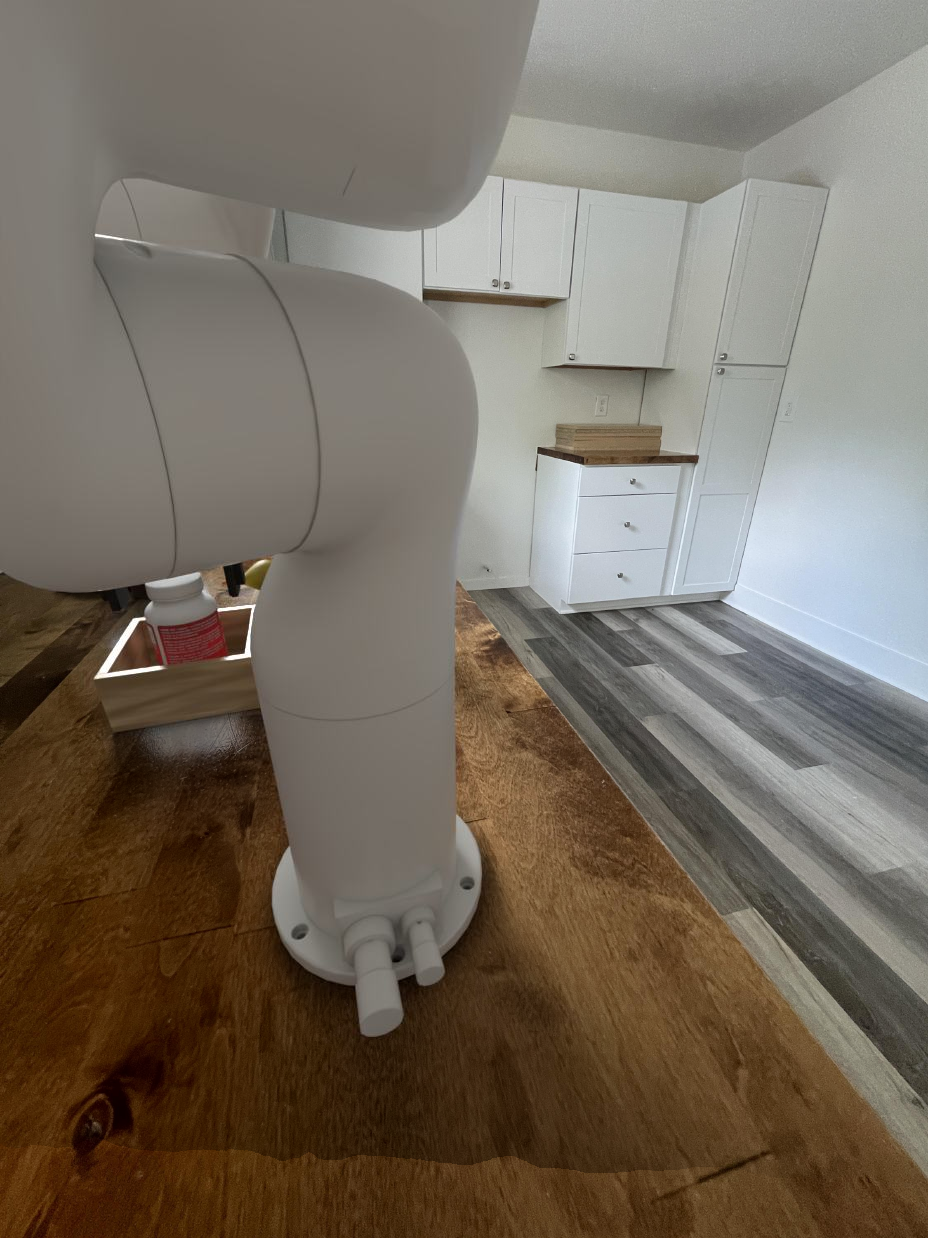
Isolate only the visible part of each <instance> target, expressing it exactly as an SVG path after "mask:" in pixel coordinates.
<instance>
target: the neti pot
mask: <svg viewBox="0 0 928 1238" xmlns="http://www.w3.org/2000/svg"><path fill="white" fill-rule="evenodd" d="M271 562H272V559H271V560H270V559H260V560H258V561H256V562H255V563H253V564H252V565H251V566H250V568H249V569H247V571H246V572H244V573H245V578H246V584H245V585H244V586H246V587H249V588H251V589H254V590H257V591H260V589H261V586H262V584H263V581H264V579H265V576H266V573H267V571H268V569H269V567H270V565H271ZM221 584H222V585H227V583H226V579H224V580H222V582H221Z"/></svg>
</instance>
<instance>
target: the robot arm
mask: <svg viewBox="0 0 928 1238" xmlns="http://www.w3.org/2000/svg"><path fill="white" fill-rule="evenodd" d="M540 1H541V0H0V572H1V573H4V574H5V575H7V576H8V577H10V578H12V579H14V580H16V581H19V582H21V583H24V584H26V585H29V586H32V587H34V588H38V589H42V590H46V591H51V592H62V593H93V592H99V593H100V596H101V599H102V600H103V601H104V602H106V601H108V603H109V607H110V609H111V611H112V612H113V613H116V612H121V611H122V610H124V608H125V607H126V606H127V604H128V603H130V601H131V595H130V591H129V588H128V587H130V586H134V585H140V584H144V583H149V582H154V581H159V580H163V579H170V578H175V577H179V576H183V575H188V574H192V573H196V572H199V573H200V572H205V571H209V570H212V569H218V568H222V569H223V573H224V578H225V579H226V583H227V584H226V587H227V591H228V595H229V597H231V598H238V597H239V596H240V591H241V586H246V585H245V584H246V578H245V573H246V572H245V569H244V564H243V563H244V562H249V561H253V560H257V559H262V558H266V557H270V556H273V557H272V559H271V561H272V562H271V565H270V567H269V569H268V571H267V573H266V576H265V579H264V581H263V584H262V586H261V589H260V590H258V595H257V599H256V602H255V604H254V605H255V608H254V611H253V617H252V624H251V630H250V655H251V663H252V669H253V674H254V679H255V684H256V687H257V693H258V697H259V702H260V707H261V708H260V711H261V716H262V720H263V725H264V726H263V727H264V730H265V735H266V739H267V744H268V749H269V754H270V759H271V763H272V769H273V774H274V778H275V783H276V787H277V792H278V798H279V802H280V806H281V811H282V816H283V821H284V825H285V830H286V835H287V839H288V846H287V848H286V849H285V851H284V853H283V855H282V857H281V859H280V861H279V864H278V866H277V868H276V871H275V874H274V879H273V883H272V887H271V908H272V913H273V918H274V923H275V926H276V929H277V932H278V936H279V938H280V940H281V942H282V944H283V946H284V948H286V950H287V951H288V953H289V954H290V956H291V957H292V959H294V960H295V961H296V962H297V963H298V964H299V965H301V966H302V967H303V968H304V969H305V970H306V971H308V972H309V973H312V974H313V975H315V976H318V977H319V978H320V979H323V980H325V981H328V982H333V983H336V984H340V985H345V986H354V987H355V996H356V1005H357V1012H358V1022H359V1030H360V1034H361V1035H362V1036H365V1037H366V1038H376V1037H379V1036H383V1035H387V1034H388V1033H390V1032H392V1031H394V1030H395V1029H397V1028H398V1027H399V1026H400V1025H401V1023H402V1022H403V1019H404V1016H405V1015H404V1009H403V1004H402V1003H403V1002H402V998H401V993H400V992H401V991H400V988H399V981H401V980H403V979H405V978H408V977H410V976H413V975H415V980H416V982H417V984H418V985H419V986H422V987H428V986H433V985H434V984H436V983H438V982H440V981H441V979H443V978H444V975H445V974H446V970H445V966H444V961H443V958H442V957H444V955H445V954H446V953H447V952H449V951H450V950H451V949H452V948H453V947H454V946H455V945H456V944H457V942H458V941H459V939H460V938H461V937H462V936H463V935H464V933H465V932H466V930H467V929H468V927H469V926H470V923H471V921H472V919H473V917H474V915H475V913H476V911H477V908H478V905H479V900H480V897H481V893H482V881H483V867H482V855H481V852H480V849H479V845H478V842H477V840H476V838H475V836H474V834H473V833H472V830H471V829H470V826H468V824H467V823H466V822H465V821H464V820H463V819H462V817H461V816H460V815H459V814H458V813H457V778H456V777H457V765H456V759H457V758H456V755H457V754H456V674H455V673H456V671H455V669H456V668H455V667H456V596H457V595H456V594H457V579H458V578H457V576H458V563H459V554H460V544H461V539H462V532H463V526H464V521H465V515H466V509H467V505H468V499H469V495H470V490H471V484H472V480H473V475H474V468H475V462H476V456H477V449H478V436H479V423H480V422H479V421H480V420H479V403H478V402H479V401H478V393H477V386H476V382H475V377H474V375H473V370H472V367H471V363H470V360H469V359H468V357H467V354H466V351H465V350H464V348H463V346H462V344H461V342H460V341H459V339H458V337H457V335H456V334H455V333H454V332H453V330H452V329H451V328H450V326H449V325H448V324H447V323H446V322H445V320H444V319H443V318H442V317H441V316H440V315H439V314H438V313H437V312H436V311H435V310H434V309H432V308H431V307H430V306H428V305H427V304H426V303H425V302H423V301H422V300H421V299H419V298H417V297H416V296H414V295H412V294H410V293H409V292H406V291H405V290H403V289H400V288H398V287H395V286H393V285H391V284H388V283H385V282H383V281H381V280H377V279H376V278H372V277H367V276H363V275H360V274H356V273H353V272H347V271H342V270H336V269H329V268H326V267H325V268H324V267H318V266H312V265H308V264H307V265H306V264H301V263H294V262H289V261H281V260H274V259H269V258H268V257H269V251H270V246H271V242H272V237H273V231H274V225H275V218H276V212H277V211H276V210H281V211H286V212H289V213H294V214H298V215H303V216H307V217H312V218H317V219H322V220H326V221H331V222H336V223H340V224H345V225H349V226H355V227H360V228H367V229H373V230H380V231H386V232H387V231H388V232H405V233H410V232H416V231H423V230H429V229H437V228H439V227H440V226H442V225H444V224H446V223H449V222H451V221H453V220H454V219H455V218H457V217H458V216H460V214H461V213H462V212H463V211H464V210H465V209H466V208H467V207H468V206H469V205H470V203H471V202H472V201H473V200H474V199H475V198H476V197H477V195H478V194H479V193H480V192H481V190H482V188H483V187H484V184H485V182H486V180H487V178H488V176H489V174H490V172H491V170H492V168H493V166H494V165H495V161H496V159H497V158H498V155H499V152H500V149H501V146H502V144H503V143H502V142H503V140H504V136H505V133H506V130H507V127H508V125H509V120H510V118H511V115H512V112H513V108H514V104H515V101H516V97H517V94H518V90H519V85H520V82H521V79H522V75H523V71H524V67H525V63H526V59H527V55H528V50H529V46H530V43H531V38H532V34H533V30H534V27H535V26H534V25H535V23H536V22H535V21H536V18H537V13H538V9H539V5H540ZM225 579H224V580H225ZM396 961H398V962H396Z"/></svg>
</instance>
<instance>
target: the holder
mask: <svg viewBox="0 0 928 1238" xmlns="http://www.w3.org/2000/svg"><path fill="white" fill-rule="evenodd" d="M255 605H256V604H250V605H248V604H247V605H241V606H232V607H231V606H230V607H223V608H218V613H219V617H220V621H221V625H222V629H223V633H224V638H225V642H226V646H227V651H228V655H229V656H227V657H220V658H213V659H206V660H199V661H191V662H184V663H177V664H170V665H163V666H159V663H158V659H157V656H156V653H155V649H154V646H153V643H152V640H151V637H150V633H149V630H148V627H147V624H146V621H145V616H143V617H135V618H132V619H131V621H130V622H129V624H128V626H127V627H126V628H125V630H124V631H123V633H122V635H121V636H120V638H119V639H118V641H117V642H116V644H115V645H114V647H113V649H112V650H111V652H110V653H109V654H108V656H107V658H106V659H105V661H104V662H103V664H102V666H101V667H100V668H99V670H98V672H97V673H96V675H95V676H94V677H93V679H92V680H93V683H94V685H95V688H96V691H97V693H98V696H99V699H100V701H101V704H102V707H103V709H104V712H105V715H106V718H107V721H108V722H109V726H110V728H111V731H112V733H120V732H127V731H132V730H133V731H134V730H138V729H143V728H144V729H145V728H149V727H151V728H152V727H156V726H162V725H168V724H173V723H179V722H186V721H191V720H197V719H204V718H209V717H215V716H221V715H227V714H233V713H239V712H244V711H251V710H256V709H257V710H258V709H261V707H260V702H259V697H258V693H257V687H256V684H255V679H254V674H253V669H252V663H251V655H250V630H251V624H252V617H253V611H254V608H255Z"/></svg>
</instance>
